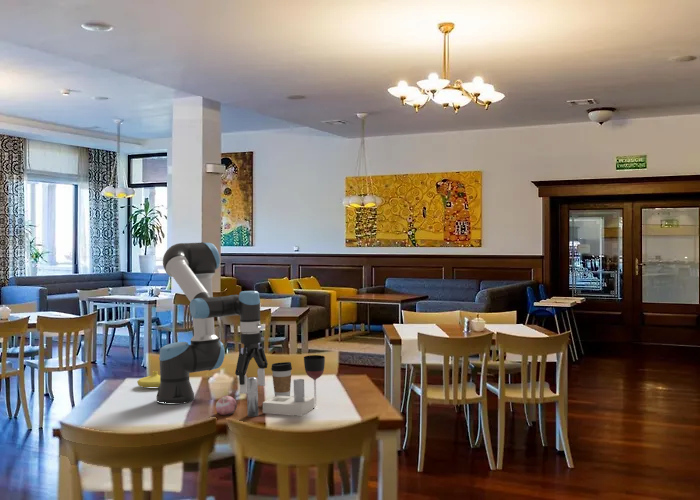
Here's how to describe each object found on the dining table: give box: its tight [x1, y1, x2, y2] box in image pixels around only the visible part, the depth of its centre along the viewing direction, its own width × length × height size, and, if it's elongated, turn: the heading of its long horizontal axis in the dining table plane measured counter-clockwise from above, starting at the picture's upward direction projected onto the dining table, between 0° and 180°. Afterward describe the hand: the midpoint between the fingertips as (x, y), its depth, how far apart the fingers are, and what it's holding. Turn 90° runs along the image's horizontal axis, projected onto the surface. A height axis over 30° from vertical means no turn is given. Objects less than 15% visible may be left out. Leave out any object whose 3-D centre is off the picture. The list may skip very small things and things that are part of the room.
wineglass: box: [303, 354, 326, 407], centre depth 272 cm, size 8×9×20 cm
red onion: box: [215, 394, 238, 416], centre depth 266 cm, size 8×8×7 cm
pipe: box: [246, 376, 259, 418], centre depth 263 cm, size 4×4×14 cm
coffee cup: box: [270, 361, 293, 397], centre depth 286 cm, size 8×8×15 cm
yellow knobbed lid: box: [136, 370, 160, 388], centre depth 317 cm, size 16×16×7 cm
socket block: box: [262, 378, 315, 417], centre depth 268 cm, size 16×12×12 cm
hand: (252, 389), depth 262 cm, fingers open, 13 cm apart
